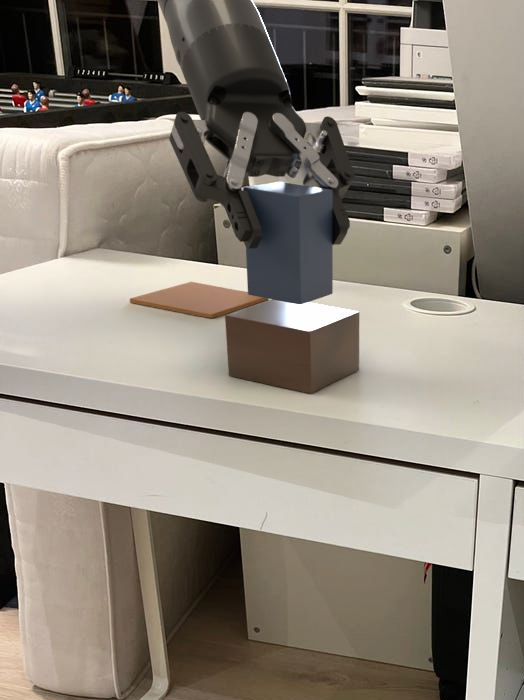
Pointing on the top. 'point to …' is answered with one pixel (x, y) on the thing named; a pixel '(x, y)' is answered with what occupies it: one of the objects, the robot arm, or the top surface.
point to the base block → (292, 344)
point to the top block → (291, 243)
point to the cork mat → (198, 299)
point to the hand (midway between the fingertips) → (299, 240)
